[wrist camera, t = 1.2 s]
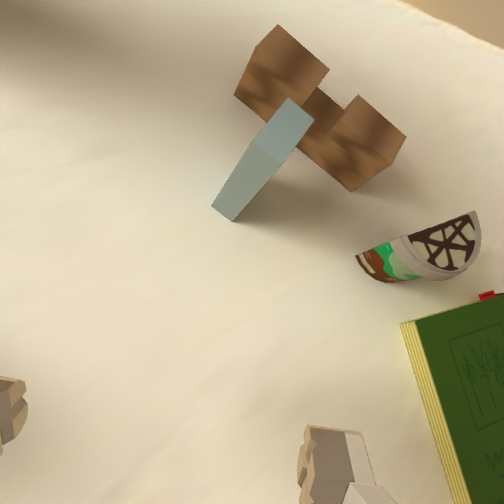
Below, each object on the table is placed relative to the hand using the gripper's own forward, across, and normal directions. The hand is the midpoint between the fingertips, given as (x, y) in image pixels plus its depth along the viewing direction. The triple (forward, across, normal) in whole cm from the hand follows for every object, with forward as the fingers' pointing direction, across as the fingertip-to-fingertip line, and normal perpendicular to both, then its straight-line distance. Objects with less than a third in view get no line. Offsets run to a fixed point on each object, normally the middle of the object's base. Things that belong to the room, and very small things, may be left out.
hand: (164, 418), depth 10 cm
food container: (+38, -20, +8) cm, 44 cm away
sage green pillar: (+35, +1, +1) cm, 35 cm away
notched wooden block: (+44, -6, -7) cm, 45 cm away
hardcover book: (+33, -34, +22) cm, 52 cm away
